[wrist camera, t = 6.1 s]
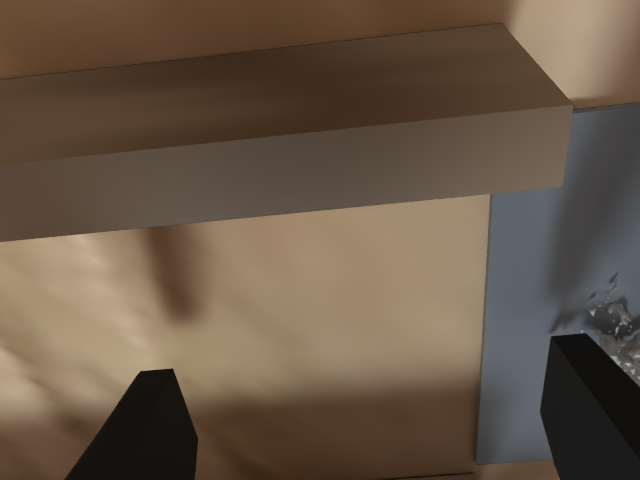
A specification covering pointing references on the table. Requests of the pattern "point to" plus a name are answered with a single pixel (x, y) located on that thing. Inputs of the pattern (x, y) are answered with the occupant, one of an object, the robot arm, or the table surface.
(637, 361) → the vase
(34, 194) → the walnut tray
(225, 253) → the table surface
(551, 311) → the slate coaster
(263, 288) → the table surface
